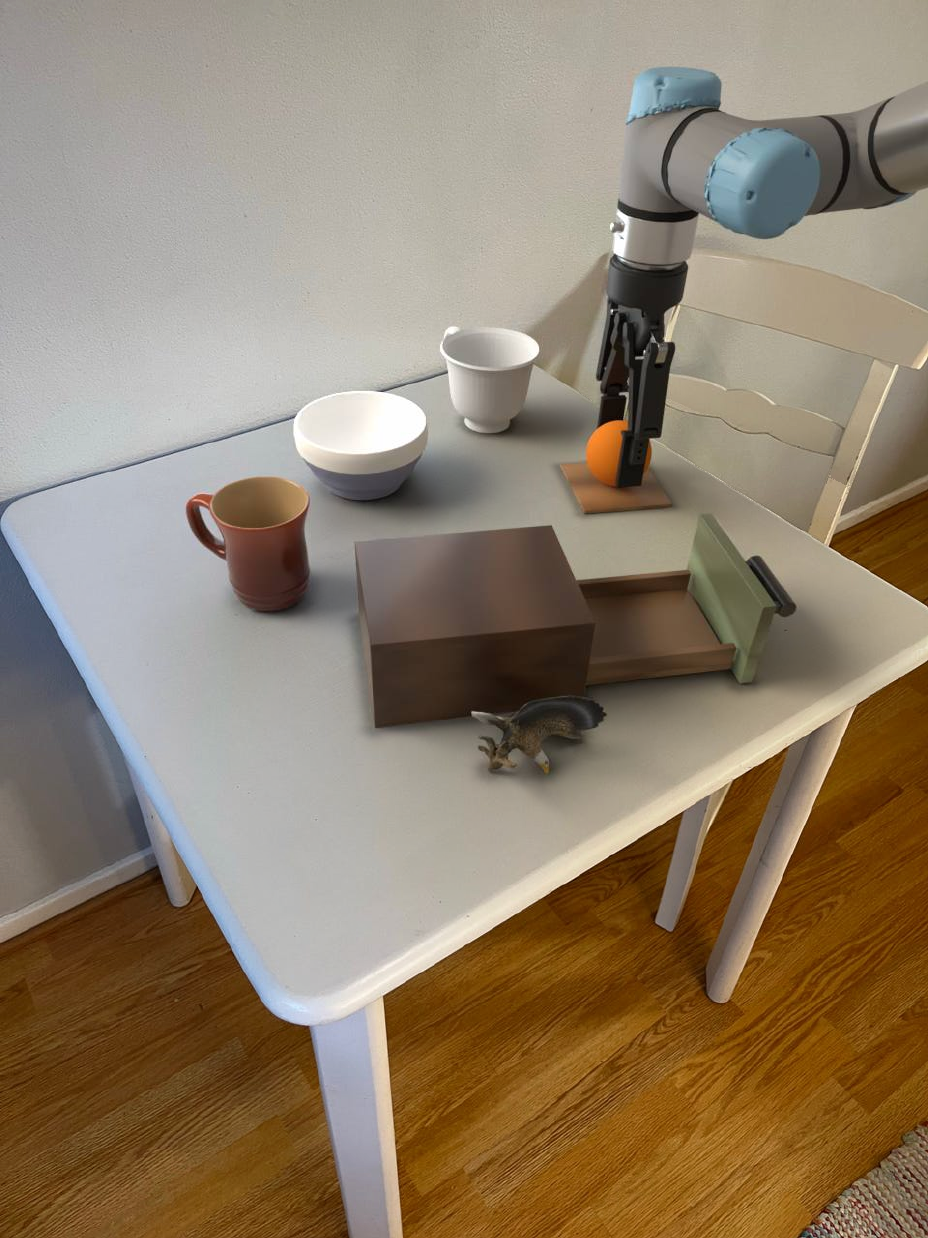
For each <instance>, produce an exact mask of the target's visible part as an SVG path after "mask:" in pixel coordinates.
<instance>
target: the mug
mask: <svg viewBox="0 0 928 1238" xmlns="http://www.w3.org/2000/svg"><path fill="white" fill-rule="evenodd" d="M310 503H311V499H310V495H309V493H308V490H307V489H306V488H305V487H304V486H303V485H301V484H300V483H298V482H296V481H295V480H292V479H289V478H285V477H281V476H271V475H262V476H261V475H260V476H251V477H245V478H242V479H237V480H235V481H232V482H229V483H227V484H226V485H224V486H223V487H221V488H219V489H218V490H217V491H216V492H215V493H210V492H209V493H208V492H198V493H196V494H194V495H193V496H192V497H190V499H188V501H187V502H186V504H185V516H186V520H187V522H188V525H189V527H190V530H191V531H192V533H193V535H194V536H195V538H196V539H197V540H198V542H199V543H201V545H202V546H203V547H205V548H206V550H208V551H210V552H211V553H212V554H214V555H215V556H216V557H218V558H219V559H222V560H223V561H226V564H227V571H228V580H229V583H230V585H231V588H232V590H233V592H234V594H235V596H236V598H237V600H238V601H239V602H240V603H241V604H242V605H244V606H246V607H247V608H249V609H252V610H256V611H261V612H274V611H275V612H276V611H280V610H285V609H287V608H289V607H292V606H294V605H295V604H297V603H298V602H300V601H301V600H302V599H303V598H304V597H305V596H306V594H307V593H308V590H309V586H310V585H309V584H310V581H311V575H310V574H311V566H310V561H309V560H310V559H309V552H308V546H307V540H306V532H305V531H306V521H307V517H308V511H309V510H310V509H309V508H310ZM200 507H203V508H205V509H207V510H208V511H209V514H210V516H211V517H212V520H213V522H214V523H215V525H216V527H217V528H218V530H219V532H220V534H221V536H222V539H223V540H222V539H219V538H218V537H217V536H215V535H214V534H213V533H212V532H211V530H210V529H209V528H208V527H207V525H206V523H205V521H204V518H203V514H202V512H201V508H200Z"/></svg>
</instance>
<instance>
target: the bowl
mask: <svg viewBox="0 0 928 1238" xmlns="http://www.w3.org/2000/svg"><path fill="white" fill-rule="evenodd" d="M428 427H429V425H428V418H427V417H426V414H425V412H424V411H423V410H422V408H420V406H418V405H417V404H416V403H414V402H413V401H411V400H409V399H407V398H405V397H402V396H399V395H396V394H393V393H388V392H387V393H386V392H381V391H373V390H372V391H371V390H357V391H356V390H355V391H354V390H353V391H344V392H339V393H334V394H329V395H326V396H323V397H320V398H318V399H315V400H313V401H311V402H310V403H308V404H306V405H305V406H304V407H303V408H301V410H299V412H298V413H297V415H296V416H295V417H294V422H293V437H294V442H295V447H296V451H297V453H298V454H299V455H300V457H301V458H302V460H303V461H304V463H305V465H306V466H307V467H309V469H310V470H311V472H312V473H313V475H314V476H315V477H316V478H317V479H318V480H319V481H321V482H322V483H323V484H324V486H325V487H326V488H327V490H329V491H330V492H331V493H332V494H333V495H336V496H338V497H339V498H342V499H347V500H352V501H373V500H378V499H383V498H384V497H388V496H390V495H392V494H393V493H395V492H396V491H398V490H399V488H400V487H401V486H402V484H403V482H404V480H406V479H407V478H408V477H409V476H410V475H411V473H412V472H413V470H414V469H415V466H416V465H417V463H418V462H419V461H420V460H421V457H422V455H423V453H424V451H425V450H426V447H427V445H428V437H429V428H428Z"/></svg>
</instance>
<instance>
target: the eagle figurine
mask: <svg viewBox="0 0 928 1238" xmlns="http://www.w3.org/2000/svg"><path fill="white" fill-rule="evenodd" d="M604 710H605V707H604V706H602V705H601V704H600V702H596V699H592V698H591V699H589V697H584V698H583V697H577V696H571V695H569V696H560V697H553V698H545V699H541V700H535V701H531V702H529V703H526V704H525V705H524V706H523V707H522V708H521V709H520V710H519V711H516V712H513V713H512V714H509V715H507V716H498V715H495V714H490V713H483V712H474V711H472V712H471V713H472V716H471V717H472V718H475V719H476V720H479V721H480V722H481V723H483V724H486V725H489V726H493V727H495V728H497V729H499V730H500V731H501V732H502V737H501V739H500V741H499V743H498V744H497V745H496V742H495V739H494V738H493V737H492V736H488V735H481V734H480V735H479V736H478V739H480V740H483V741H485V742H486V744H487V746H488V748H487V747H486V746H484V745H481V744H480V745H478V746H477V749H478V750H479V751H480V752H484V754H485V755H486V756H487V757H488V759H489V763H488V765H487V771H488V773H489V772H490V773H491V772H492V771H495V770H499V769H501V768H502V767H503V766H504V767H507V768H509V769H511V770H514V769H515V768H516V767H517V766H518V764H517V763H516V762H514V761H513V760H511V759H509V758H510V757H509V754H510V753H511V752H512V751H513V750H515V749H518V750H519V751H520V752H522V753H523V754H524V755H525V756H527V757H529V758H530V759H532V761H534V762H536V763H537V765H539V766H540V767H541V768H542V769H543V771H544V773H545V774H548V773H549V770H550V768H549V765H550V761H549V757H548V756H547V754H546V753H545V751H544V750H543V749H542V747H541V743H542V741H543V740H544V739H546V738H547V737H549V736H550V737H563V738H566V739H571V740H580V735H581V733H580V732H579V731H588V730H590V731H591V730H594V729H596V728H598V727H599V724H600V723H602V722H603V721H604V720H605V718H606V717H607V716H608V713H607V712H606V711H604Z"/></svg>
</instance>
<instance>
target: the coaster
mask: <svg viewBox="0 0 928 1238" xmlns="http://www.w3.org/2000/svg"><path fill="white" fill-rule="evenodd" d="M559 467H560V469H561V471H562V473H563V476H564V477H565V479H566V481H567V483H568V485H569V486H570V489H571V491H572V493H573V495H574V496H575V497H574V498H576V501H577V502H578V504H579V506H580V508H581V510H582V512H583V514H584V515H587V514H599V513H611V512H620V511H621V512H623V511H624V512H625V511H634V510H635V511H637V510H647V509H659V508H671V507H672V502H671V501H670V499H669V497H668V496H667V495H666V493H665V491H664V490H663V488H662V487H661V486H660V484H659V482H658V481H657V479H656V478H655V476H654V474H653V472H652V471H651V470H650V469H649V468H648V469H647V470H646V472H645V473H644V474H643V477H642V483H641V486H633V487H621V488H617V486H611V485H607V484H605V483H603V482H601V481H600V480H598V479H597V478H596V477H595V476H594V475H593V474H592V472H591V471H590V469H589V467H588V464H587V461H584V462H583V461H582V462H573V463H571V462H569V463H560V465H559Z"/></svg>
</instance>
